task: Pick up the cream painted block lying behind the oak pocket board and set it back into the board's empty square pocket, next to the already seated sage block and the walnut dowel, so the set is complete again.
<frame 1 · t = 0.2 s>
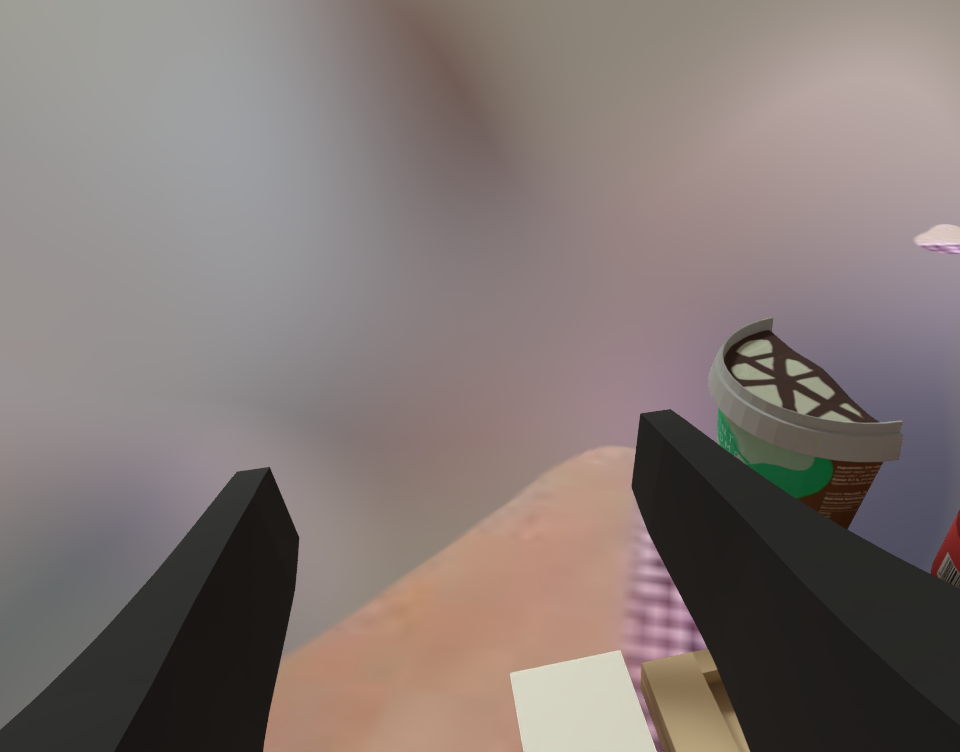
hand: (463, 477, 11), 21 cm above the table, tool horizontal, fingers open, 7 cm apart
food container: (750, 495, 36), on the table
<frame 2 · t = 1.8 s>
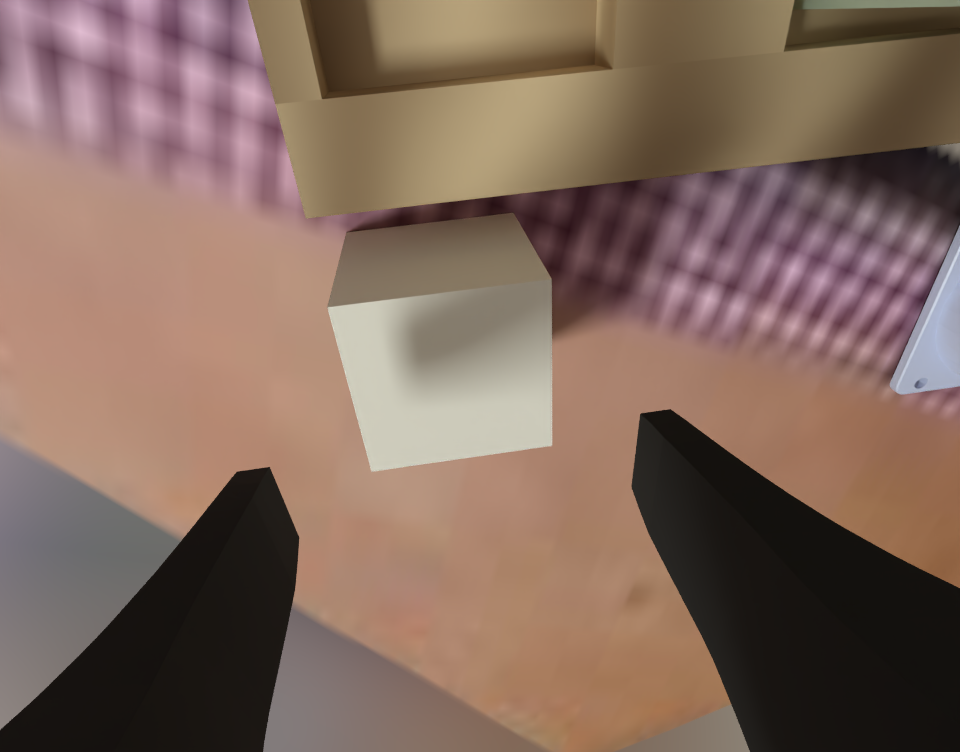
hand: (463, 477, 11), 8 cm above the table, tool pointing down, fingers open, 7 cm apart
cream block: (440, 297, 17), on the table
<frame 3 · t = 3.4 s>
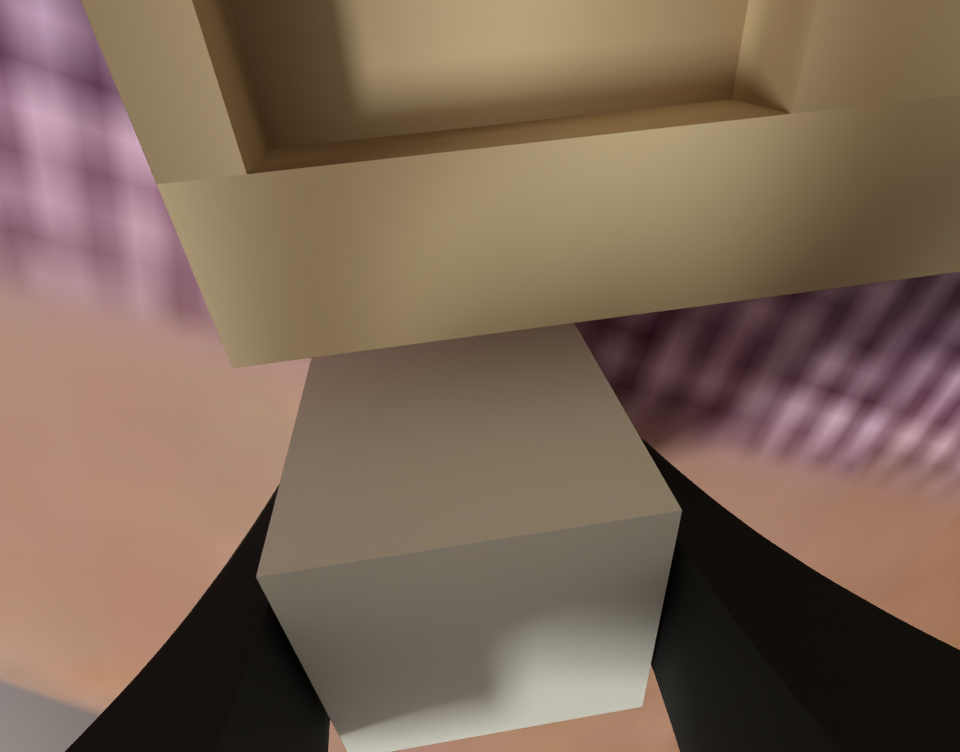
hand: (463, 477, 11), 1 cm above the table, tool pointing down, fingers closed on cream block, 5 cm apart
cream block: (457, 430, 12), on the table, touching gripper
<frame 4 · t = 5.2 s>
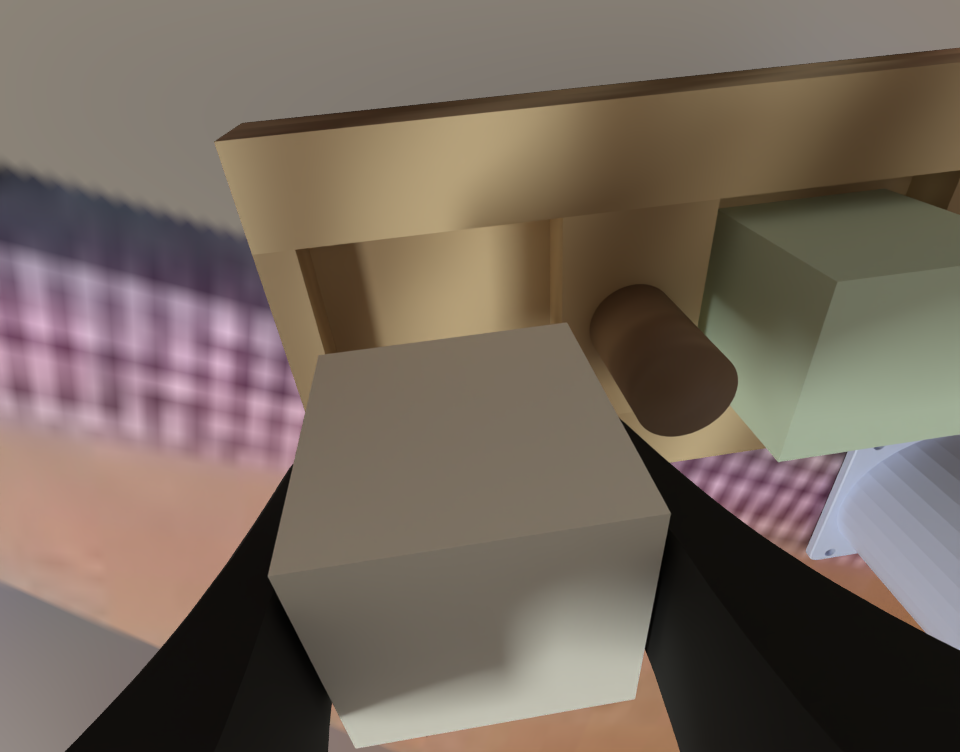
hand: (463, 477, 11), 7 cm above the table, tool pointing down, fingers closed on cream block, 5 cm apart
sage block: (761, 267, 17), resting on pocket board
cream block: (457, 432, 12), point 6 cm above the table, touching gripper
pocket board: (604, 287, 17), on the table
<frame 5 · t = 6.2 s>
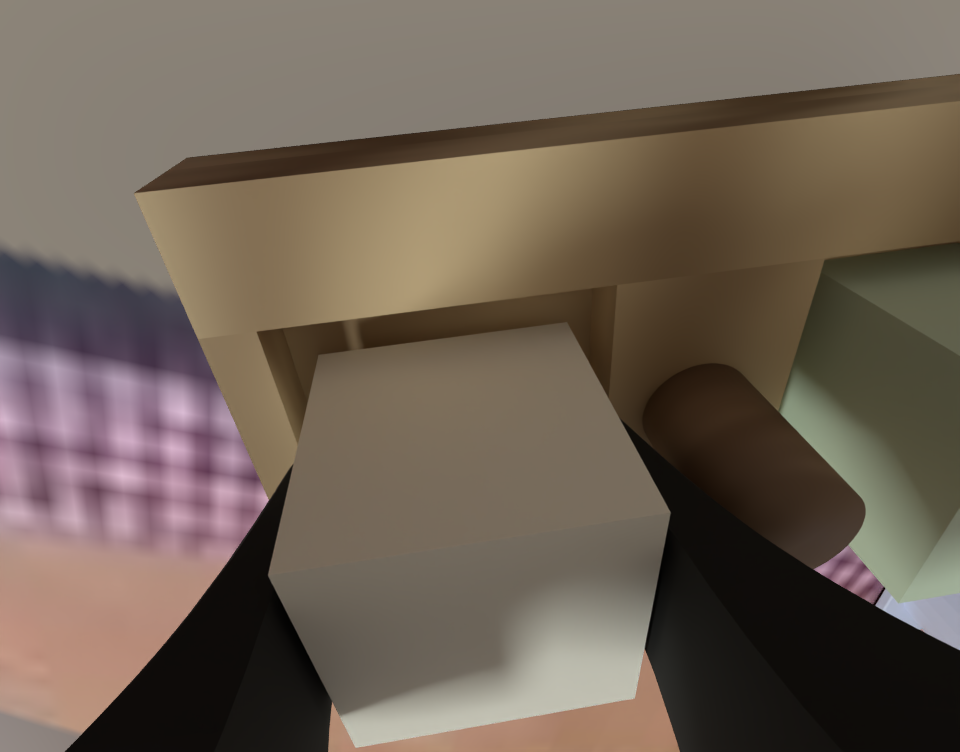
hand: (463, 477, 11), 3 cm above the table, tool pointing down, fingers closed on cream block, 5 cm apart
sage block: (846, 325, 14), resting on pocket board
cream block: (457, 432, 12), point 2 cm above the table, touching gripper
pocket board: (652, 352, 14), on the table
when the fingers open (3 cm above the table, at t = 7.0 s): cream block stays where it is, resting on pocket board.
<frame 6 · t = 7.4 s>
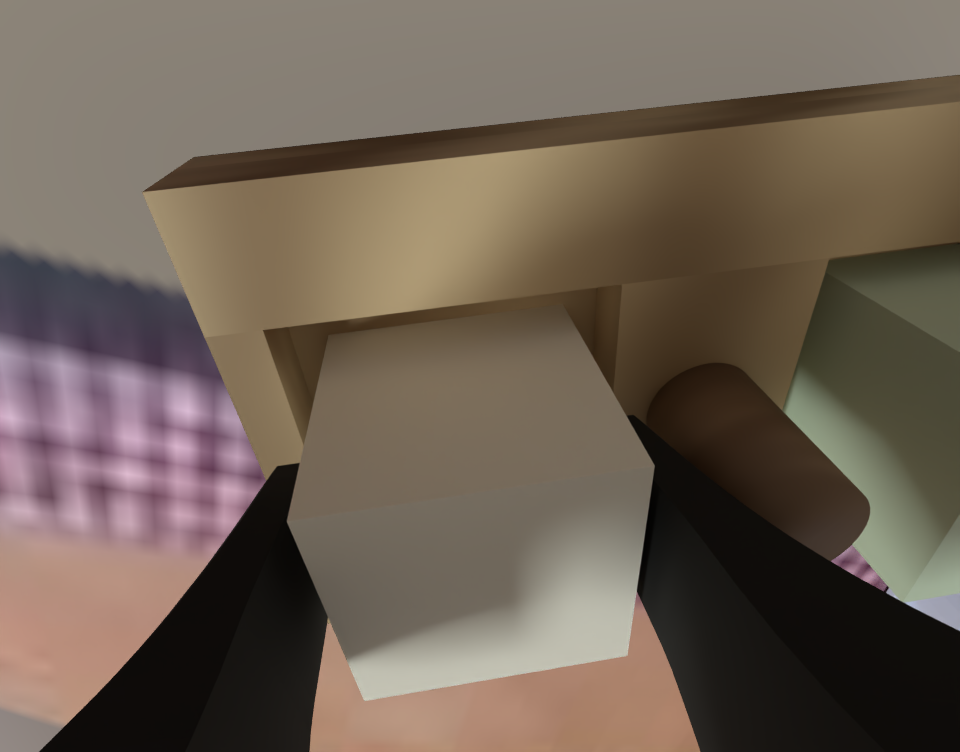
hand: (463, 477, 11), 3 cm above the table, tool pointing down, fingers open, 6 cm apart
sage block: (849, 326, 14), resting on pocket board
cream block: (459, 411, 13), point 1 cm above the table, touching pocket board
pocket board: (656, 352, 14), on the table
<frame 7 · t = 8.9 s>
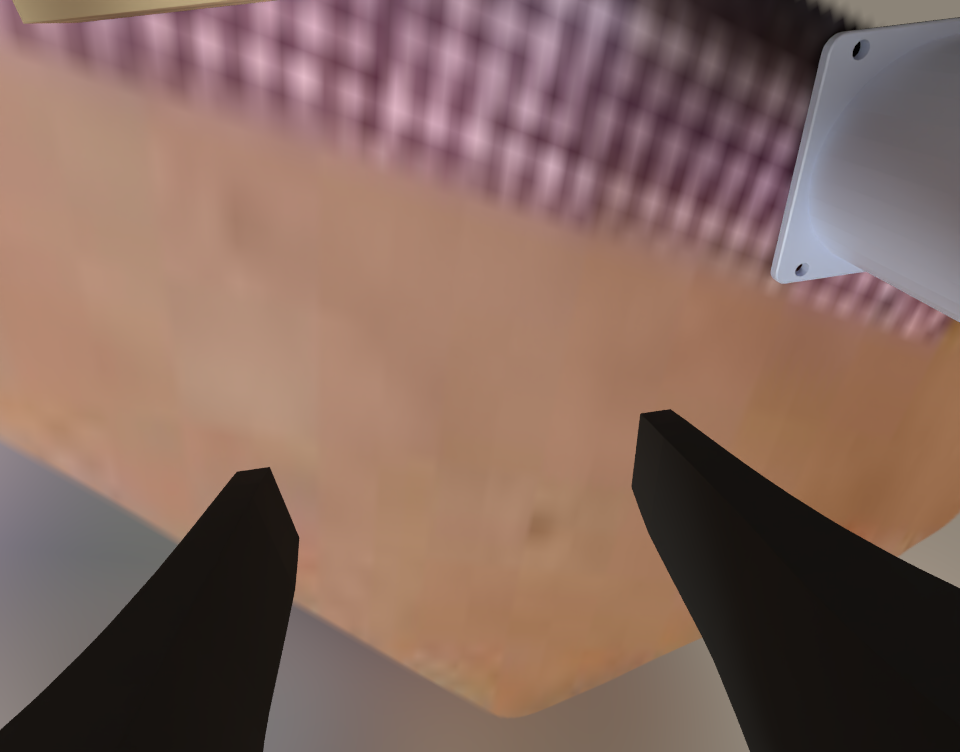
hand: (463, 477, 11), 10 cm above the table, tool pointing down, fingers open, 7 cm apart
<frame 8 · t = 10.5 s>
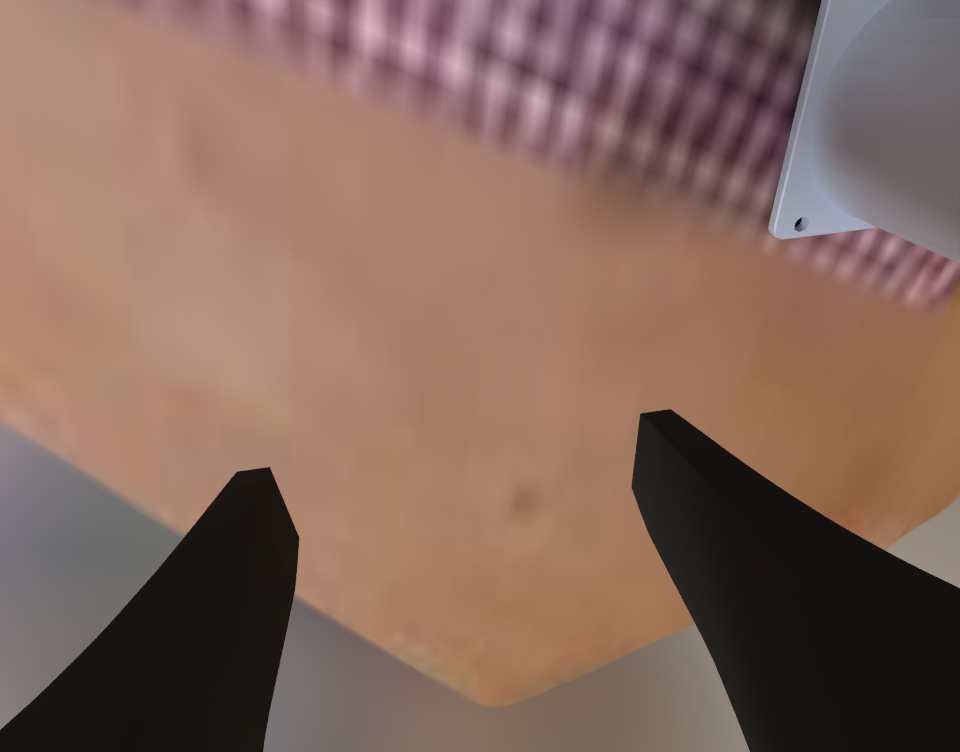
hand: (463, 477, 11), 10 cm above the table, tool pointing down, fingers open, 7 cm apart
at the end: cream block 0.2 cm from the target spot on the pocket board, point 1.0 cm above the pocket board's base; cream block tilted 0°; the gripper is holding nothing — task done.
